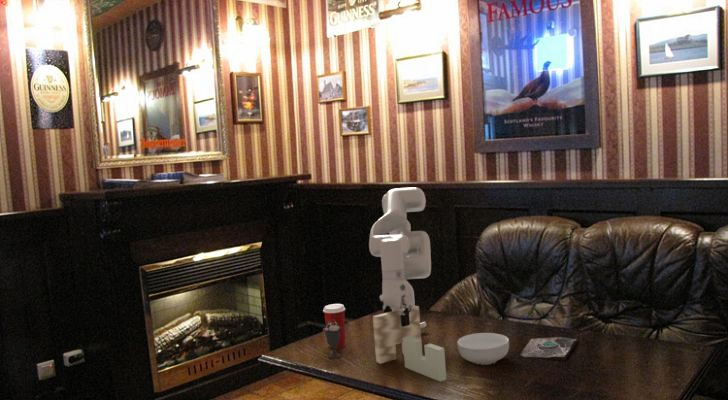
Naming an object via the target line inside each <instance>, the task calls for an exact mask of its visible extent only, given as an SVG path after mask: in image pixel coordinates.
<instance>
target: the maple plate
mask: <svg viewBox="0 0 728 400" xmlns="http://www.w3.org/2000/svg"><path fill="white" fill-rule="evenodd" d="M404 310H405V308H403V311H404ZM401 315H402V314H401V312H400V310H395V311H391V312H387V313H384V312H383V313H380V314H375V315H372V326H373V336H374V337H373V339H374V340H373V341H374V351H375V352H374V353H375V362H376V363H378V364H379V365H381V364H383V363H387V362H391V361H395V360H397V350H396V349H397V348H396V347H397V346H396V345H398V344H399V345H400V344H401V352H402V355H404V347H403V338H404V337H407V336H410V337H413V338H416V339H419V340H421V341H422V330H421V329H422V328H420V323H421V319H420V316H421V315H420V306H418V305H414V306H412V307H411V311H410V314H409V321H410V325H408V326H404V327H402V326H401Z"/></svg>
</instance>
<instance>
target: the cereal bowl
mask: <svg viewBox="0 0 728 400" xmlns="http://www.w3.org/2000/svg"><path fill="white" fill-rule="evenodd" d="M456 344H457V349H458V352H459V355H460V356H461V358H463V359H464V360H466V361H469V362H472V363H473V364H475V363H476V364H475V365H479V364H481V365H480V366H487V365H492V363H493V364H495V363H497V361H499V360H502V359H503V358H505V357H506V356H507V354H508V352H509V349H510V340H509V338H508V337H507V336H506V335H504V334H501V333H500V334H499V333H495V332H479V333H471V334H466V335H464V336H461V337H460V338H459V339H458V340H457V343H456Z"/></svg>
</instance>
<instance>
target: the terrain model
mask: <svg viewBox="0 0 728 400" xmlns="http://www.w3.org/2000/svg"><path fill="white" fill-rule="evenodd" d="M577 343H578V339H577V338H576V339H575V338H570V337H562V336H553V335H552V336H548V337H547V336H546V337H538V338H531V339H530V340H529V341H528V342H527V344H526V346H525V347H524V348H523V349H522V351H521V352H520V354H519V355H520V356H522V357H524V358H530V359H531V358H532V359H542V360H553V361H562V362H563V361H564V362H565V360H566V359H567V358H568V357H569V355H570V353H571V352H572V350H573V349H574V347H575V346H576V344H577Z"/></svg>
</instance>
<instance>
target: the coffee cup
mask: <svg viewBox="0 0 728 400" xmlns="http://www.w3.org/2000/svg"><path fill="white" fill-rule="evenodd" d="M345 311H346V308H345V306H344V304H343V303H342V304H341V303H333V304H332V303H331V304H328V305H325V306H324V307H323V310H322V312H323V313H324V320H325V321H324V322H325V327H326V326H327V321H328V322H330V321H332V319H333V318H334V316H336V317H335V318H334V320H335V322H336V323H337V325H338V326H339V327H341V328H342V329H341V330H340V338H339V344H338V345H337V346H336V349H339V348H338V347H341V348H343V347H345V346H346V318H345V317H346V315H345ZM328 345H329V344H328ZM329 346H330V345H329ZM329 348H331V346H330V347H329Z"/></svg>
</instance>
